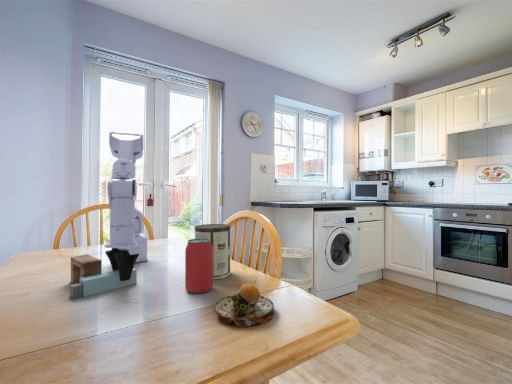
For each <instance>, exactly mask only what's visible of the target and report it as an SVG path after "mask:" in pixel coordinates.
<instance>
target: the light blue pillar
mask: <svg viewBox="0 0 512 384" xmlns="http://www.w3.org/2000/svg"><path fill="white" fill-rule="evenodd" d="M137 274H138V272H137V268H134V267H133V270H132V274H131V278H130V280H126V281H121V280H120V276H119V270H116V271H113V270H111V271H108V272H107V271H106V272H103V273H102V272H101V274H96V275H91V276H87V277H82V278H80V282H79V283H74V284H73V283H72V284H70V285H69V297H70V298H71V299H73V300H74V299H78V298H82V297H88V296H92V295H96V294H100V293H105V292H107V291H113V290H116V289H120V288H124V287H128V286H132V285H136V284H137V282H138V280H137V279H138V276H137Z"/></svg>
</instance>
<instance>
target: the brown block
mask: <svg viewBox="0 0 512 384" xmlns="http://www.w3.org/2000/svg"><path fill="white" fill-rule="evenodd" d="M102 263H103V262H102V259H99V258H97V257H94V256H92V255H90V254H82V255H75V256H70V283H71V282H72V284H73V283H74V284H76V283H77V282H79V283H80V278H82V277H87V276H91V275H96V274H101V273H102V269H103V268H102V267H103V266H102Z"/></svg>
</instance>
